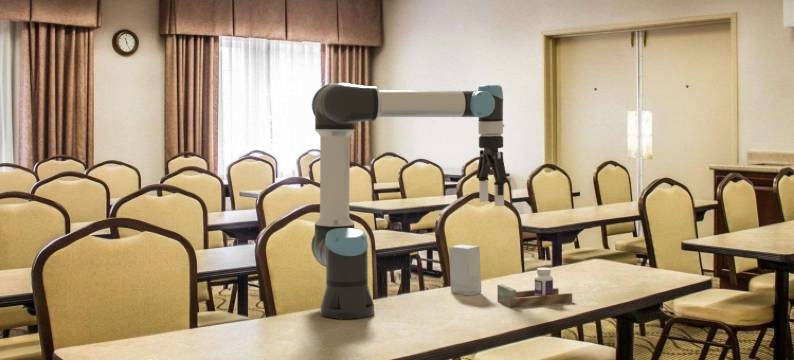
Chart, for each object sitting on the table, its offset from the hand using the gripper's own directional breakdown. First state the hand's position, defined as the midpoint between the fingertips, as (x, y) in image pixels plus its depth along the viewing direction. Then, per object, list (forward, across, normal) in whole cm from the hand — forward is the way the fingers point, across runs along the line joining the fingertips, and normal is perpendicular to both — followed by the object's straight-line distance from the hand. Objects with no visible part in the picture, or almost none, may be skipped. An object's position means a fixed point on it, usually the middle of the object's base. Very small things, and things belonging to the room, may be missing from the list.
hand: (491, 203), depth 280 cm
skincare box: (+28, 0, +9) cm, 29 cm away
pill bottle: (+28, -17, -10) cm, 34 cm away
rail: (+28, -18, -7) cm, 33 cm away
